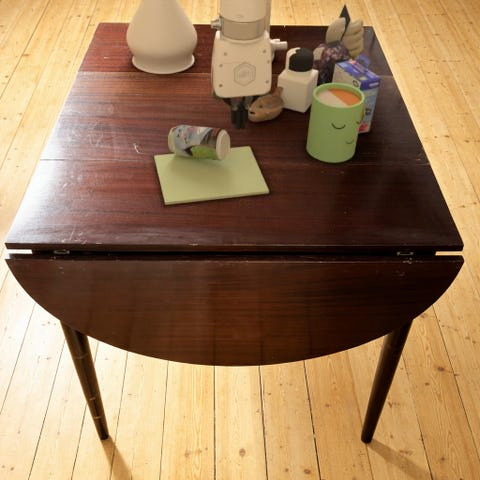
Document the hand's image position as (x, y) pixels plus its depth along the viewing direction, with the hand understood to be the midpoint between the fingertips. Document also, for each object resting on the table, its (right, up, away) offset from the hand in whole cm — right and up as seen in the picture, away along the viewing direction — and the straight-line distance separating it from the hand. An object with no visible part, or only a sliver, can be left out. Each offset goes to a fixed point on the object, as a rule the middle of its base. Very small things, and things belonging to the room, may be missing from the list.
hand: (239, 126), depth 114 cm
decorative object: (+26, +30, +43) cm, 59 cm away
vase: (-19, +29, +40) cm, 54 cm away
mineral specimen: (+22, +22, +35) cm, 47 cm away
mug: (+20, 0, +15) cm, 25 cm away
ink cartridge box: (+24, +7, +22) cm, 33 cm away
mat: (-6, -8, +6) cm, 12 cm away
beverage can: (-2, -3, +5) cm, 6 cm away
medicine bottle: (+13, +14, +27) cm, 33 cm away
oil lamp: (+6, +10, +23) cm, 26 cm away
